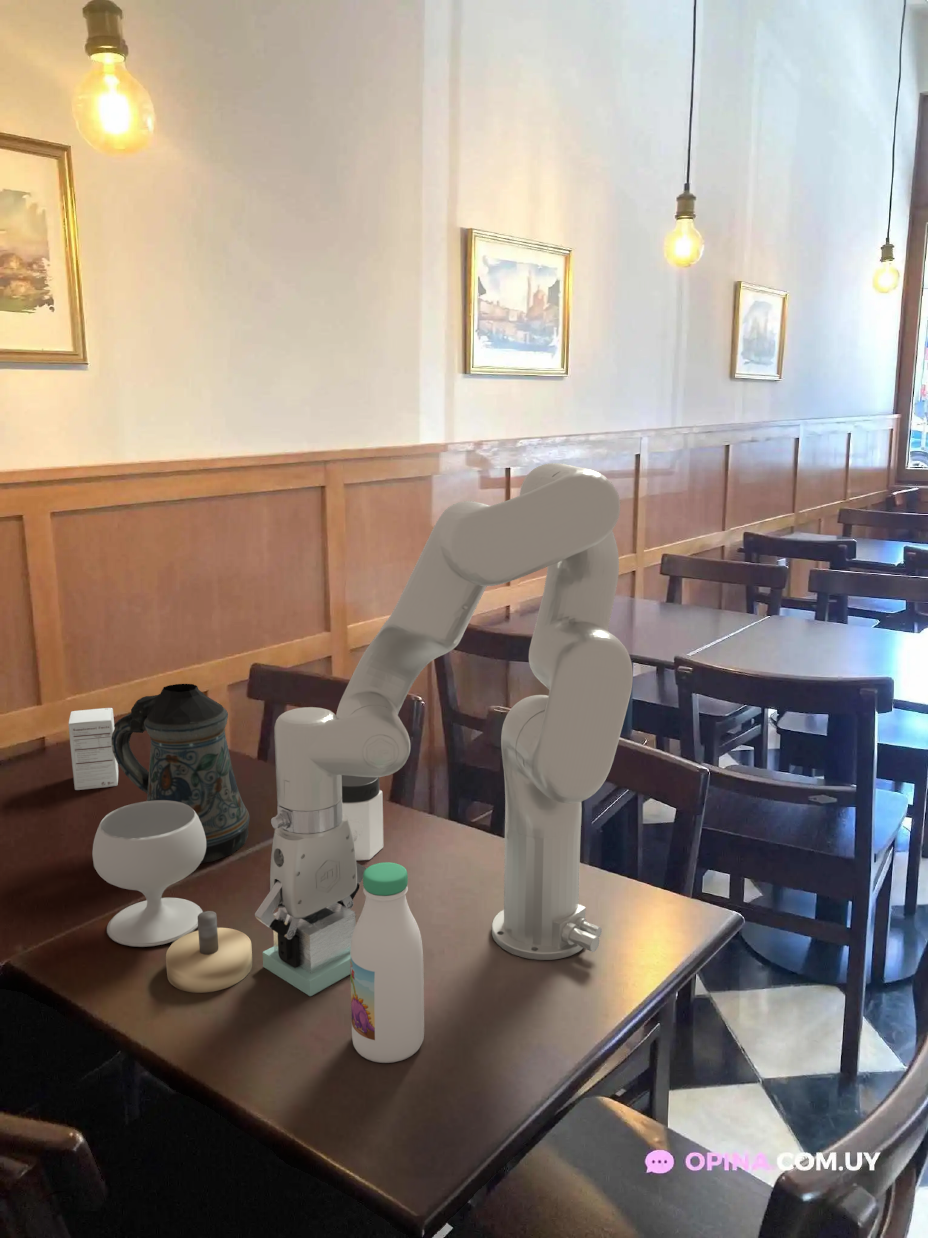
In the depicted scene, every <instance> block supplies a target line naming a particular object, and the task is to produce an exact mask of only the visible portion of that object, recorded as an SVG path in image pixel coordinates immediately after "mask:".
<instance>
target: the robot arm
mask: <svg viewBox="0 0 928 1238" xmlns="http://www.w3.org/2000/svg"><path fill="white" fill-rule="evenodd" d="M519 491H520V492H519V495H518V496H515V497H512V498H510V499H508V500H505V501H502V502H498V503H496V504H492V505H490V504H489V505H488V504H486V503H482V502H478V501H471V500H470V501H469V500H468V501H467V500H466V501H459V502H456V503H454V504H452V505H450V506H449V507H447V508H446V509H445V510H444V511H443V512H442V514H441V515H440V516H439V517H438V519H437V520H436V522H435V524H434V526H433V528H432V530H431V532H430V534H429V536H428V539H427V540H426V542H425V545H424V547H423V549H422V550H421V552H420V555H419V557H418V559H417V561H416V564H415V565H414V568H413V570H412V572H411V574H410V575H409V577H408V580H407V582H406V584H405V586H404V588H403V591H402V592H401V594H400V596H399V599H398V601H397V603H396V605H395V607H394V609H393V611H392V612H391V614H390V616H389V617H388V619H386V621H385V622H384V623H383V625H382V626H381V628H380V629H379V631H378V632H377V634H376V635H375V637H374V638H373V639H372V641H371V642H370V644H369V645H368V646H367V647H366V649H365V651H363V654H362V656H361V657H360V660H359V661H358V664H357V665H356V667H355V669H354V671H353V673H352V676H351V677H350V679H349V682H348V683H347V686H346V688H345V690H344V691H343V694H342V696H341V699H340V701H339V703H338V707H337V709H336V710H337V711H336V714H335V713H334V712H333V711H332V710H330V709H326V708H322V707H315V706H314V707H313V706H310V707H309V706H308V707H305V706H304V707H297V708H293V709H290V710H287V711H285V712H283V713H281V714H280V715H279V716H278V717H277V718H276V720H275V722H274V728H273V729H274V730H273V731H274V733H273V734H274V751H275V752H274V754H275V755H274V756H275V757H274V758H275V777H276V778H275V780H276V799H277V800H276V801H277V802H276V803H277V806H276V807H277V808H276V809H277V814H276V815H275V816H274V817H273V816H272V818H270V819H271V820H270V823H271V825H272V828H273V829H274V832H273V838H272V845H271V854H270V869H269V870H270V871H269V873H270V874H269V878H270V879H269V883H270V885H269V888H270V889H269V892H268V893H267V895H266V897H265V898H264V899H263V901H262V902H261V904H260V906H259V907H258V908H257V910H256V911H255V913H254V917H255V918H256V920H258V922H261V923H262V924H263V925H264V926H266V927H267V928H269V929H270V930H272V931H273V930H274V931H275V932H277V933H278V954H279V957H280V959H281V960H282V961H284V962H286V963H287V964H289V965H290V966H292V967H294V968H296V967H298V966H299V965H300V951H299V937H298V936H297V935H295V932H296V929H297V926H298V923H299V920H300V919H301V918H305V917H307V916H309V915H311V914H314V913H316V912H318V911H320V910H322V909H324V908H326V907H328V906H330V905H332V904H334V903H336V902H337V903H339V904H340V905H342V906H344V907H346V908H348V909H350V910H352V908H353V907H354V898H355V896H356V895H357V893H358V891H359V890H360V884H361V882H363V874H364V871H365V870H366V869H367V867H365V866H364V865H362V864H360V863H358V862H357V861H356V855H355V847H354V841H353V836H352V831H351V827H350V824H349V821H348V818H347V816H346V815H344V814H343V812H342V776H341V775H349V776H360V777H379V778H381V777H382V778H383V777H385V776H386V777H387V776H390V775H392V774H395V773H397V772H398V771H399V770H401V769H402V768H403V766H405V764H406V763H407V760H408V759H409V756H410V753H411V740H410V739H411V738H410V736H409V733H408V730H407V728H406V727H405V725H404V724H403V722H402V720H401V719H400V716H399V712H400V710H401V709H402V706H403V704H404V701H405V700H406V698H407V695H408V693H409V692H410V690H411V688H412V686H413V685H414V682H415V681H416V679H417V678H418V676H419V675H420V673H421V672H422V671H423V670H425V669H424V668H426V667H427V666H428V665H429V664H430V663H431V662H433V661H434V660H435V659H436V660H437V658H439V657H442V656H444V655H446V654H448V653H450V652H451V651H453V650H454V649H455V648H457V646H458V645H459V644H460V643H461V640H462V638H463V637H464V633H465V631H466V630H467V627H468V625H469V624H470V621H471V619H472V617H473V615H474V613H475V610H476V609H477V607H478V604H479V603H480V601H481V599H482V596H483V595H484V592H485V591H486V589H487V587H493V586H494V587H495V586H499V585H503V584H507V583H509V582H513V581H515V580H518V579H521V578H523V577H526V576H528V575H531V574H533V573H536V572H538V571H540V570H543V569H545V568H546V575H545V576H546V577H545V581H544V587H543V594H542V598H541V600H540V605H539V609H538V613H537V617H536V621H535V625H534V629H533V633H532V636H531V640H530V645H529V649H528V663H529V667H530V669H531V670H530V671H531V672H532V674H533V675H534V676H535V678H536V679H537V680H538V681H539V682H540V683H541V684H542V685H543V686H544V687H546V689H548V690H549V692H548V695H546V694H535V695H530V696H526V697H524V698H522V699H521V700H519V701H518V702H515V704H514V705H513V706H512V707H511V708H510V710H509V711H508V712H507V714H506V716H505V718H504V721H503V724H502V729H501V737H500V739H501V740H500V745H501V748H500V749H501V756H502V757H501V759H502V767H503V776H504V777H503V778H504V794H505V795H504V798H505V800H504V801H505V802H504V803H505V807H504V810H505V812H504V814H505V816H504V818H505V819H504V864H503V865H504V867H503V869H504V870H503V871H504V873H503V874H504V875H503V876H504V877H503V878H504V880H503V883H504V885H503V909H502V910H500V911H499V912H498V913H497V914H496V915H495V916H494V918H493V920H492V923H491V935H492V938H493V940H494V941H495V942H496V944H497V945H498V946H499V947H500V948H502V949H503V950H505V951H506V952H508V953H510V954H512V955H515V956H516V957H517V956H518V957H521V958H524V959H531V960H535V961H536V960H538V961H539V960H540V961H551V960H560V959H563V958H564V959H565V958H568V957H570V956H573V955H575V954H577V953H580V951H582V950H583V949H586V950H587V951H589V952H592V953H594V952H596V951H597V950H598V948H599V945H600V937H601V935H602V927H600V926H599V925H596V924H593V923H590V922H588V921H587V919H586V911H587V910H586V906H584V905H582V904H579V901H580V899H579V896H580V867H581V866H580V864H581V863H580V862H581V836H582V835H581V832H582V831H581V830H582V827H581V826H582V802H583V801H585V800H588V799H590V798H591V797H593V796H594V795H595V794H596V793H597V792H598V791H599V790H600V789H601V787H602V786H603V784H604V783H605V781H606V779H607V777H608V776H609V773H610V771H611V768H612V765H613V763H614V760H615V757H616V756H615V755H616V753H617V748H618V745H619V741H620V738H621V733H622V730H623V725H624V722H625V718H626V715H627V711H628V706H629V703H630V697H631V693H632V690H633V680H634V679H633V678H634V677H633V673H634V672H633V665H632V664H633V663H632V659H631V656H630V654H629V651H628V649H627V648H626V646H625V645H624V644H623V643H622V642H621V640H620V639H619V638H618V637H617V636H615V635H614V634H612V633H610V631H609V629H610V621H611V619H612V618H611V617H612V613H613V609H614V602H615V596H616V592H617V586H618V582H619V572H620V557H619V556H620V555H619V549H618V544H617V540H616V537H615V533H614V531H613V530H614V528H615V527H616V525H617V523H618V521H619V518H620V513H621V501H620V496H619V493H618V491H617V488H616V487H615V485H614V484H613V482H612V481H610V480H609V479H608V477H606V476H605V475H604V474H602V473H600V472H598V471H595V470H593V469H589V468H586V467H579V466H574V465H570V464H566V463H559V462H558V463H556V462H555V463H554V462H552V463H545V464H541V465H538V466H536V467H535V468H533V469H531V471H529V473H528V474H527V475H526V476H525V478H524V479H523V480H522V484H521V487H520V490H519ZM277 908H278V909H277ZM276 909H277V911H276ZM275 911H276V912H277V915H276V918H275V917H274V916H273V914H274V913H275ZM287 914H288V915H290V918H289V920H288V923H287V925H285V924H284V923H285V920H286V917H287Z"/></svg>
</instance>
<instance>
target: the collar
mask: <svg viewBox="0 0 928 1238" xmlns="http://www.w3.org/2000/svg"><path fill="white" fill-rule="evenodd" d="M277 912H278V911H276V912H274V913H273V916H274V917H275V918H276V915H277ZM289 918H290V915H288V914H287V917H286V920H285V923H284V924H285V925H287V923H288V920H289ZM356 924H357V922H356V911H355V910H352V909H348V908H346V907H344V906H342V905H340V904H339V903H337V902H336V903H334V904H332V905H330V906H328V907H326V908H324V909H322V910H320V911H318V912H316V913H314V914H311V915H309V916H307V917H305V918H301V919H300V920H299V923H298V926H297V929H296V932H295V935H297V936H298V937H299V951H300V965H299V967H300V968H302V969H304V970H305V971H307V972H309V973H310V974H312V973H314V972H316V971H318V970H319V969H321V968H323V967H325V966H327V965H329V964H330V963H332V962H334V961H336V960H338V959H340V958H341V957H343V956H345V955H347V954H349V953H351V940H352V936H353V932H354V929H355V926H356ZM272 933H273V946H274V952H276V953H277V954H278V933H277V932H275V931H274V930H272Z"/></svg>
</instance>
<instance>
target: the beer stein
mask: <svg viewBox="0 0 928 1238" xmlns="http://www.w3.org/2000/svg"><path fill="white" fill-rule="evenodd" d="M130 710H131V711H130V713H128V714H126V715H124V716H123V717H122V718H120V719H118V721H116V722H114V728H115V729H114V731H113V734H112V750H113V754H114V756H115V758H116V761H117V763H118V767H119V768H120V769H121V771H123V773H124V775H125V776H126V777H127V778H129V780H130V781H131V782H132V783H133V784H134V785H135V786H136V787H137V788H138V789H140V790H141V791H142V792H144V794H147V797H146V801H155V800H168V801H176V802H181V803H184V804H186V805H188V806H190V807H191V808H192V809H193V810H194V811H195V812H196V814H197V815H198V817H199V819H200V822H201V824H202V826H203V829H204V833H205V837H206V852H205V855H204V858H203V860H202V862H201V863H200V864H206V863H210V862H215V861H217V860H220V859H223V858H226V857H229V856H231V855H232V853H233V854H234V853H235V852H237V851H238V850H239V848H240V847H241V848H243V847H244V846H245V845H244V844H246V842H247V840H248V837H249V824H250V813H249V810H248V809H247V807H246V806H245V804H244V802H243V800H242V797H241V794H240V791H239V787H238V785H237V780H236V776H235V773H234V769H233V765H232V759H231V756H230V749H229V745H228V740H227V736H226V726H227V724H228V717H229V713H228V711H227V709H226V708H225V707H223V705H222V704H221V703H218V702H217V701H215V700H214V699H212V698H210V697H208V696H207V695H206V694H205V693H203V692H202V691H201V690H200V689H199V687H198V685H196V684H194V683H193V684H192V683H175V684H170V685H166V686H163V688H162V689H161V691H160V693H159V694H155V695H145V696H142V697H141V698H139V699H137V700H136V702H135V703H134V704H133V706H132V707H131V709H130ZM145 731H146V733H147V734H148V736H149V737H150V751H149V752H150V753H149V767H148V768H149V769H146V768H145V767H144V766H143V765H142V764H141V763H140V762H139V760H138V758H137V757H136V756H135V754H134V753H133V751H132V749H131V745H130V742H131V741H130V740H131V737H132V734H133V733H136V734H137V733H138V734H140V733H141V734H143V733H144V732H145ZM243 845H244V846H243ZM241 848H240V849H241ZM236 850H237V851H236ZM230 854H231V855H230Z"/></svg>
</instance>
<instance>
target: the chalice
mask: <svg viewBox="0 0 928 1238" xmlns="http://www.w3.org/2000/svg"><path fill="white" fill-rule="evenodd" d="M96 829H97V830H96V833H95V835H94V838H93V843H92V861H93V868H94V869H95V870H96V872H97V874H98V875H99V876H100V877H101V878H102V879H103V880H104V881H106V883H108V884H110V885H113V886H114V887H118V888H121V889H126V890H129V891H138V892H140V893H142V895H143V896H144V897H145V899H146V900H143V901H142V900H141V901H140V902H136V903H134V904H131V905H129V906H127V907H125V908H122V909H121V910H120V911H118V912H117V913H116V914H115V915H114V916H113V917H112V918H111V919H110V920H109V922H108V924H107V926H106V934H107V936H108V937H109V938H110V939H111V940H112V941H114V942H115V943H118V944H120V945H123V946H129V947H137V948H145V947H155V946H160V945H161V946H162V945H165V944H169V943H174V942H175V941H176V940H177V939H179V938H181V937H182V936H184V935H186V934H189V933H191V932H194V931H196V930H197V929H198V915H199V914H200V913H202V912H204V910H203V909H202V907H200V906H199V905H198V904H197V903H195V902H193V901H191V900H188V899H184V898H180V897H162V896H163V894H164V892H165V890H166V889H167V888H168V887H170V886H171V885H174V884H176V883H178V882H179V881H182V880H184V879H185V878H186V877H188V876H189V875H191V874H193V872H194V871H196V870H197V868H198V867H199V866H200V864H202V863H201V862H202V860H203V858H204V855H205V852H206V837H205V833H204V829H203V826H202V824H201V822H200V819H199V817H198V815H197V814H196V812H195V811H194V810H193V809H192V808H191V807H190V806H188V805H186V804H184V803H181V802H176V801H168V800H155V801H147V800H146V801H140V802H135V803H131V804H128V805H124V806H121V807H118V808H117V809H115V810H112V811H111V812H108V813H107V814H106V815H105V816H104V817H103V818H102V820H101V821H100V822H99V825H98V827H97V828H96Z"/></svg>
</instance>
